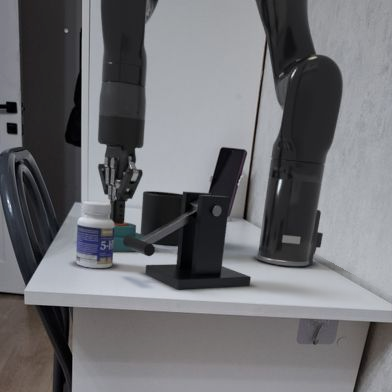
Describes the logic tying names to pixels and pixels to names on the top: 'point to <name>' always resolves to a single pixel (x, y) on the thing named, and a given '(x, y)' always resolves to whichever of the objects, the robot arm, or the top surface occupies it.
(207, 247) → the bracket
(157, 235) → the lever
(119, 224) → the button
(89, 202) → the pill bottle
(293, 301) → the top surface
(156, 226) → the mug
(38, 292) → the top surface
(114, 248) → the button box
